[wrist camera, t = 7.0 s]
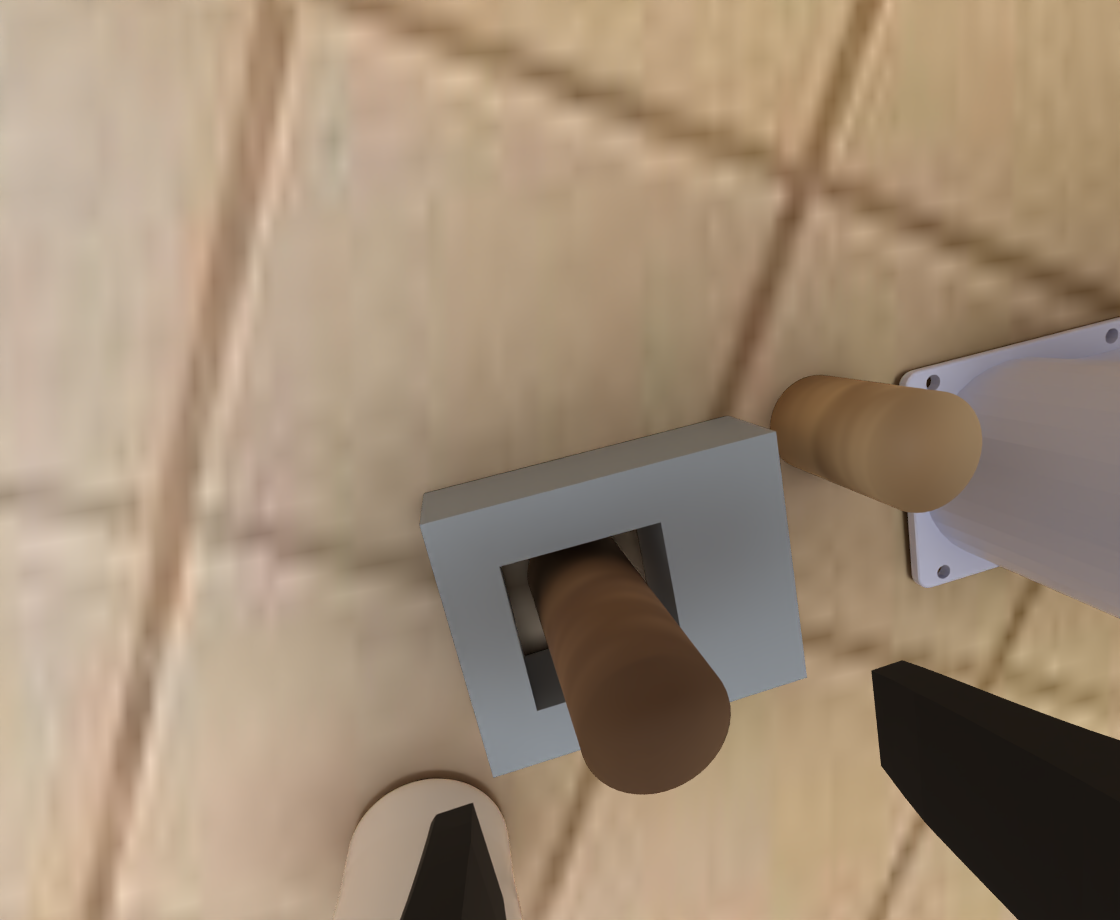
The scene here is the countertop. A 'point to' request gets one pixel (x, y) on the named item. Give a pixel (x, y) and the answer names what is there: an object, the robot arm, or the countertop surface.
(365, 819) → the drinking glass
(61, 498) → the countertop surface
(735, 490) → the socket block
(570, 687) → the walnut dowel
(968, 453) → the oak stub
